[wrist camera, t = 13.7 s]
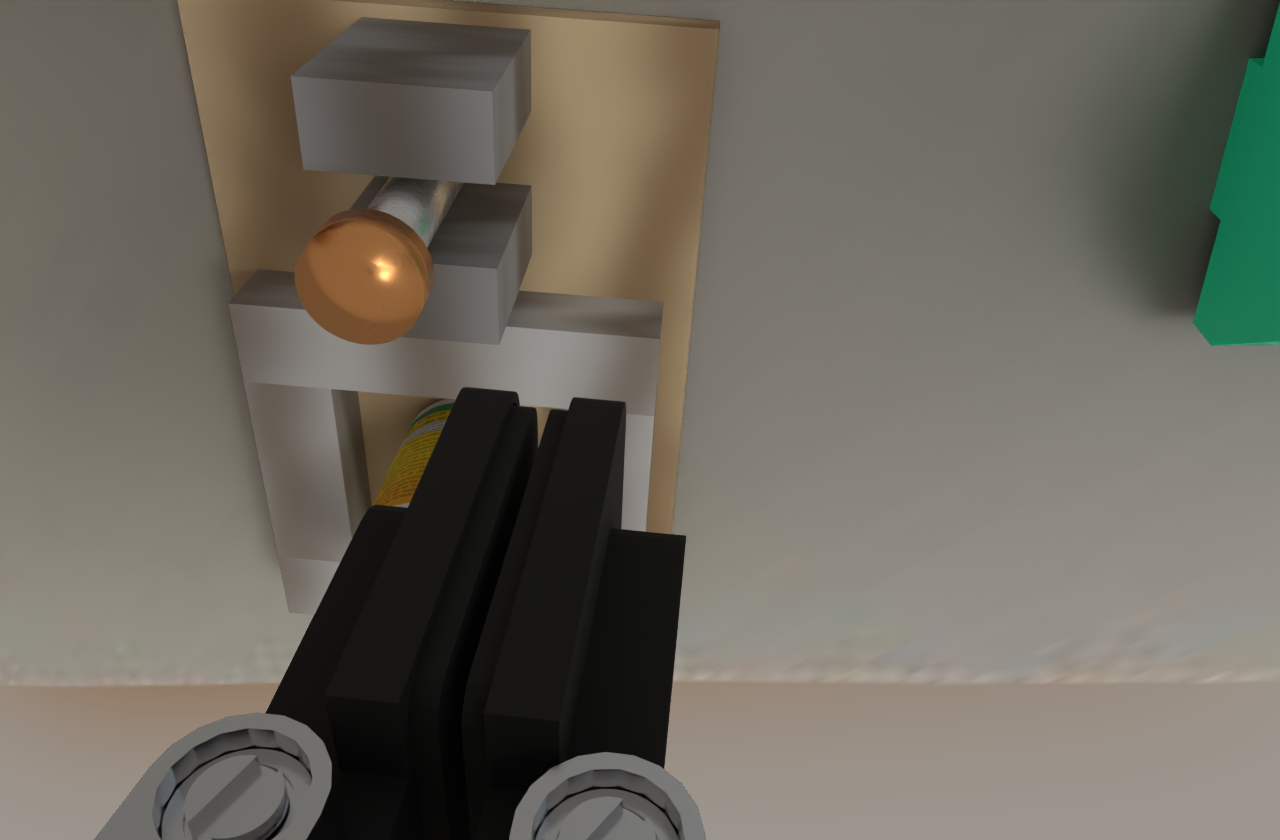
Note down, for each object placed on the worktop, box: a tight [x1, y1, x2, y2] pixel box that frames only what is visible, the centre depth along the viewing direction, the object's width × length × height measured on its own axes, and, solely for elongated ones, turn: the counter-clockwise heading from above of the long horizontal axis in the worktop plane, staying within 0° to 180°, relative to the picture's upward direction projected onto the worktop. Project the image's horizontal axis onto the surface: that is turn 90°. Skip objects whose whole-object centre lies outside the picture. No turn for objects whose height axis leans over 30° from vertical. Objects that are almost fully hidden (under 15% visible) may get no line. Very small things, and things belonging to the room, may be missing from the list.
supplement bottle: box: [373, 399, 540, 508], centre depth 35 cm, size 5×5×10 cm
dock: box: [177, 0, 720, 615], centre depth 34 cm, size 16×23×7 cm
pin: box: [294, 177, 464, 345], centre depth 28 cm, size 3×3×9 cm
